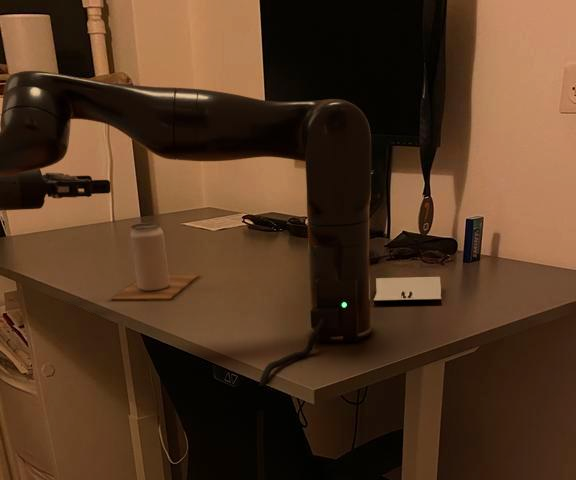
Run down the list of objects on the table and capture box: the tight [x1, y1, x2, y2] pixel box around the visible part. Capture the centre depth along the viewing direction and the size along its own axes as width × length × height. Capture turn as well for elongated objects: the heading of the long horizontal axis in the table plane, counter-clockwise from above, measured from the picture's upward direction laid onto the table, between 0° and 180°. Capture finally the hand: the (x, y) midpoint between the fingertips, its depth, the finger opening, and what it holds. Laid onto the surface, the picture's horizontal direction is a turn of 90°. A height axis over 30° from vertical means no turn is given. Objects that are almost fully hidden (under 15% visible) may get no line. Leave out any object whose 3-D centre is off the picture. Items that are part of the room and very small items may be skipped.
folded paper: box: [373, 276, 442, 301], centre depth 143 cm, size 12×12×2 cm
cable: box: [369, 248, 420, 264], centre depth 169 cm, size 14×28×2 cm, turn 126°
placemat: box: [111, 274, 199, 302], centre depth 160 cm, size 18×12×1 cm, turn 169°
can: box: [129, 222, 170, 291], centre depth 156 cm, size 6×6×12 cm
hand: (100, 184), depth 145 cm, fingers open, 8 cm apart
